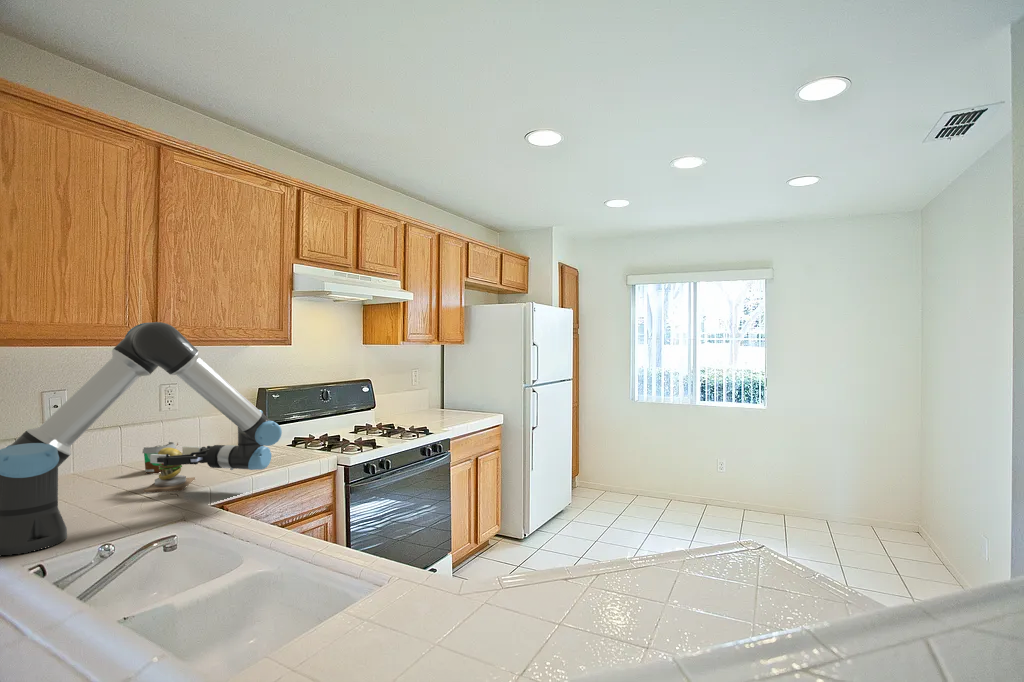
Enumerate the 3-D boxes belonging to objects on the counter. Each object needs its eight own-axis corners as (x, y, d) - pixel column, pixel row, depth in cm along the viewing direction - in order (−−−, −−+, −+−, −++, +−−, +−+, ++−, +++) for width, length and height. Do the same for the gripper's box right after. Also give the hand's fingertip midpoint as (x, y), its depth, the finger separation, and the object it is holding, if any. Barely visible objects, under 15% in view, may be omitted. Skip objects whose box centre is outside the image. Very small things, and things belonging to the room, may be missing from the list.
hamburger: (154, 478, 182) (154, 443, 182) (178, 474, 187) (179, 440, 187) (161, 482, 177) (161, 446, 177) (186, 478, 182) (186, 443, 182)
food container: (156, 475, 197) (156, 448, 197) (142, 474, 198) (142, 447, 198) (183, 468, 209) (183, 442, 209) (169, 467, 210) (169, 441, 210)
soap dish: (143, 493, 174) (143, 484, 174) (159, 482, 187) (159, 474, 188) (181, 490, 177) (181, 482, 177) (195, 480, 190) (195, 472, 190)
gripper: (196, 477, 167) (136, 474, 170) (248, 459, 191) (195, 457, 195) (196, 453, 167) (136, 450, 170) (248, 438, 191) (195, 436, 195)
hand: (167, 454), depth 183 cm, fingers open, 13 cm apart
